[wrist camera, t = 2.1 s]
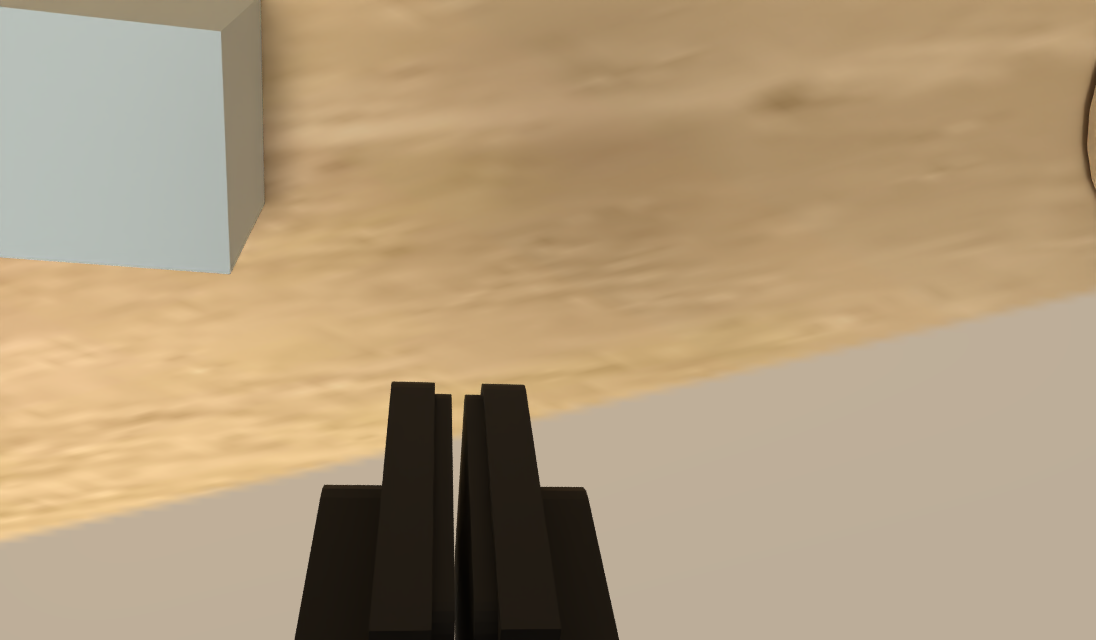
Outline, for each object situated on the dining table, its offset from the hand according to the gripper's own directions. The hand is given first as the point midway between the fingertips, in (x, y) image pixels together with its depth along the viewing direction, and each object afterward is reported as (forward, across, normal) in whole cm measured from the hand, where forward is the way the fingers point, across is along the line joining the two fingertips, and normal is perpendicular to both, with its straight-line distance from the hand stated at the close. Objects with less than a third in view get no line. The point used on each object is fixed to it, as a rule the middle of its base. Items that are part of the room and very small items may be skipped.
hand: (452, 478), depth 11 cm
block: (+17, +9, 0) cm, 19 cm away
